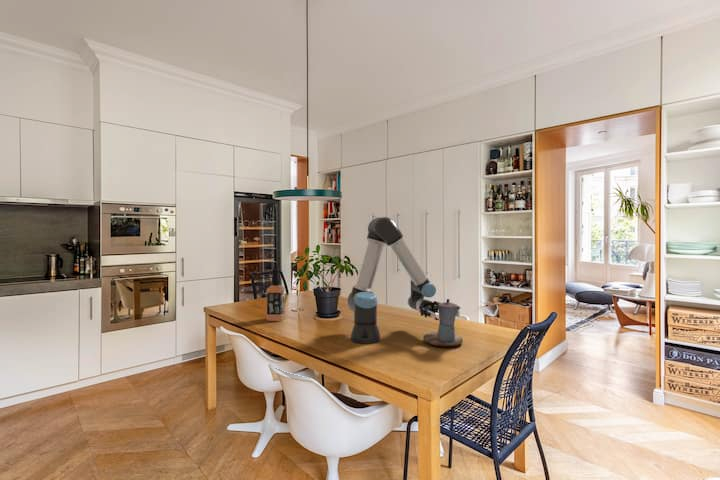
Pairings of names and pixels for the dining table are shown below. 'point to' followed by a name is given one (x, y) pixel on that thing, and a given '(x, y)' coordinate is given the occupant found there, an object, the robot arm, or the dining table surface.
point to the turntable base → (442, 346)
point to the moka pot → (446, 320)
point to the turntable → (432, 339)
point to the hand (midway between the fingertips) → (447, 315)
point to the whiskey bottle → (275, 299)
